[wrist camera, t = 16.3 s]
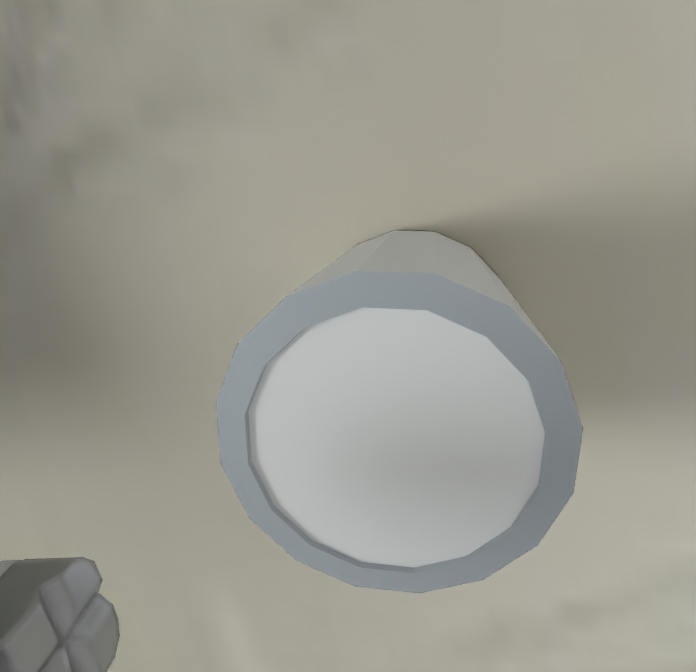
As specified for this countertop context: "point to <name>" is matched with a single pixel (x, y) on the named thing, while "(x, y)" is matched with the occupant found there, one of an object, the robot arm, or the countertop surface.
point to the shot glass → (400, 419)
